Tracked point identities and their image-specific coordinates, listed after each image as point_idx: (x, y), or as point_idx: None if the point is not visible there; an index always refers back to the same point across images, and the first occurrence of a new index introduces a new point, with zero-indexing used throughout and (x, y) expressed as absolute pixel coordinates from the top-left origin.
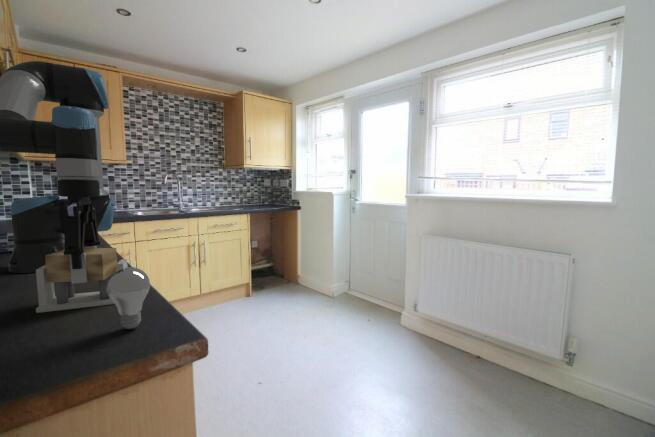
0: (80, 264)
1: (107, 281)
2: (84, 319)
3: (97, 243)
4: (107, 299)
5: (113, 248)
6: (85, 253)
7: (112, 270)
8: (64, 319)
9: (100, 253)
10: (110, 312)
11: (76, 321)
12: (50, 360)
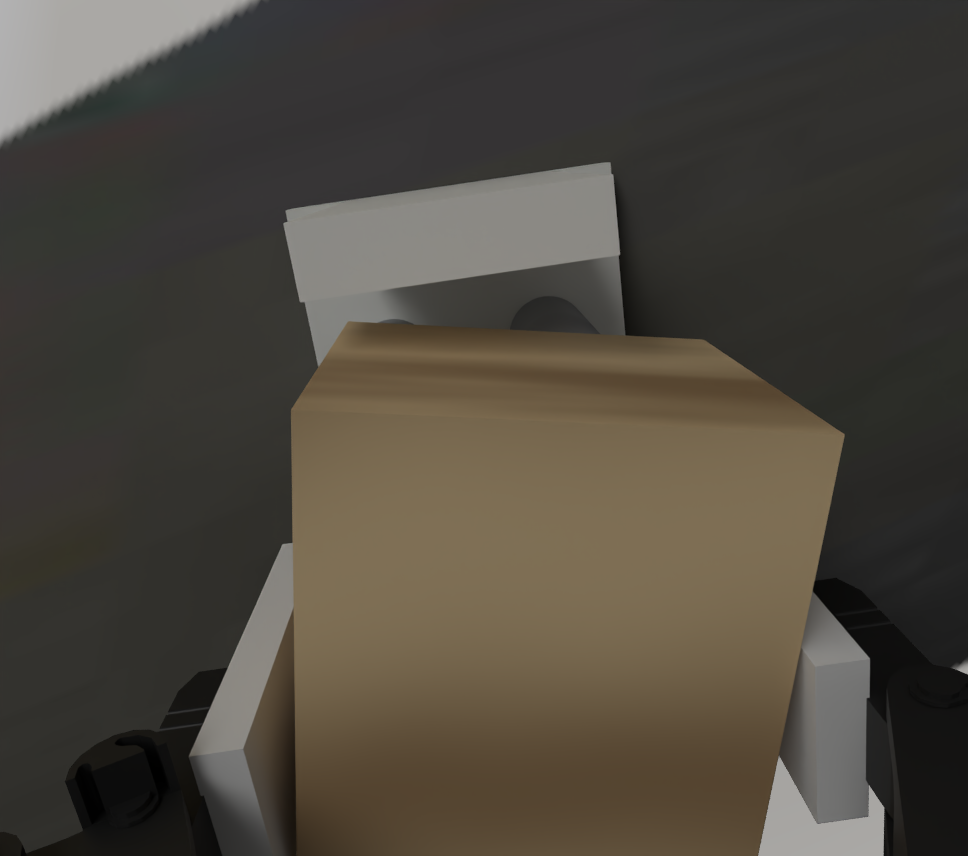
0: (850, 607)
1: (595, 332)
2: (891, 333)
3: (148, 779)
4: (593, 301)
5: (360, 431)
6: (823, 658)
7: (482, 339)
8: (838, 465)
9: (793, 473)
10: (808, 195)
11: (910, 371)
12: None
